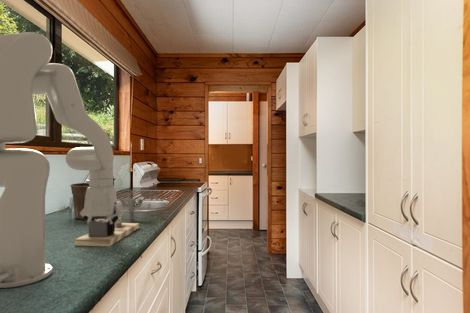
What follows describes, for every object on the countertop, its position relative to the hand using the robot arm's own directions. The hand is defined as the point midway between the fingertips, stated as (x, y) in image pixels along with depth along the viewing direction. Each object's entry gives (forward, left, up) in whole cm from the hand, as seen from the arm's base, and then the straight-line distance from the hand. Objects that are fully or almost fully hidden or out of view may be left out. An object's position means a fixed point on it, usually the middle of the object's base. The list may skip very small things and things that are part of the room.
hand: (101, 234), depth 102 cm
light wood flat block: (+6, 0, -2) cm, 6 cm away
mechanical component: (+31, +3, -2) cm, 31 cm away
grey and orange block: (0, 0, 0) cm, 0 cm away
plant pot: (+37, +27, -3) cm, 46 cm away
